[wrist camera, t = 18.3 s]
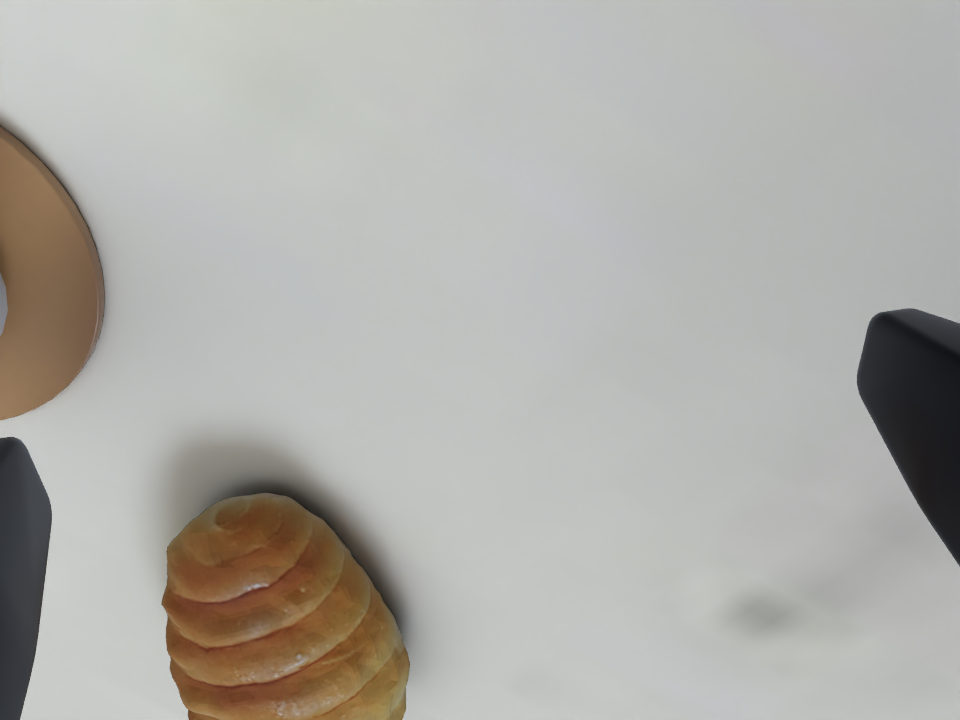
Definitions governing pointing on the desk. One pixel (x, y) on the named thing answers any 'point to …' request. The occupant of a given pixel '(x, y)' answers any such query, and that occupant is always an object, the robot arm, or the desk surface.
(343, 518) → the desk surface
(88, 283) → the coaster
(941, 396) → the robot arm
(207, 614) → the pastry
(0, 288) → the beverage can
